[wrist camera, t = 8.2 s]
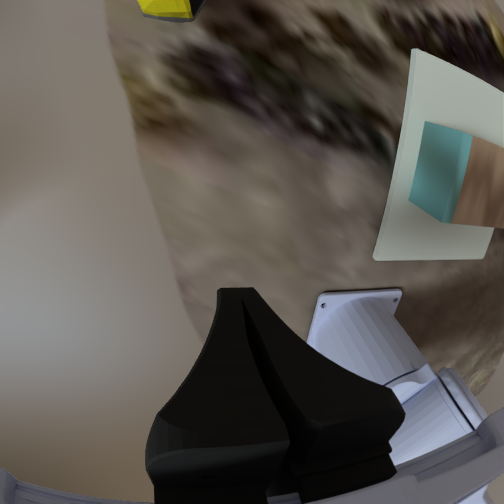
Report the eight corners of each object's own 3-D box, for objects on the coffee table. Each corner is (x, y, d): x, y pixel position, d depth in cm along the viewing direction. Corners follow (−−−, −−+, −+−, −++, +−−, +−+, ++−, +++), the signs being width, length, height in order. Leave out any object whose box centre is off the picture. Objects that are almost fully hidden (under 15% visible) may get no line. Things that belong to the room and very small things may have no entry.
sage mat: (479, 256, 26) (483, 258, 26) (372, 256, 24) (375, 260, 23) (517, 103, 19) (522, 105, 18) (411, 48, 16) (416, 48, 16)
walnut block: (504, 228, 19) (441, 222, 18) (473, 209, 23) (408, 200, 21) (523, 157, 16) (463, 132, 15) (489, 143, 20) (424, 120, 18)
